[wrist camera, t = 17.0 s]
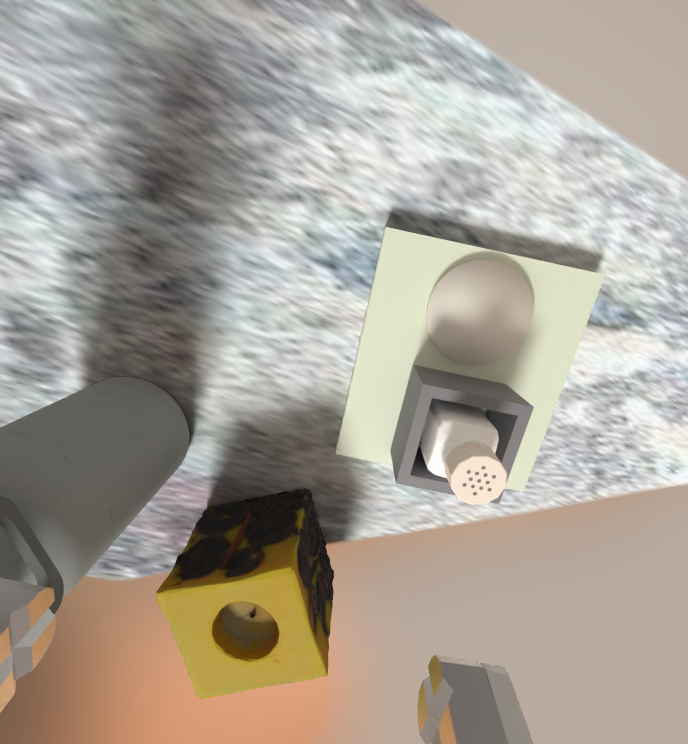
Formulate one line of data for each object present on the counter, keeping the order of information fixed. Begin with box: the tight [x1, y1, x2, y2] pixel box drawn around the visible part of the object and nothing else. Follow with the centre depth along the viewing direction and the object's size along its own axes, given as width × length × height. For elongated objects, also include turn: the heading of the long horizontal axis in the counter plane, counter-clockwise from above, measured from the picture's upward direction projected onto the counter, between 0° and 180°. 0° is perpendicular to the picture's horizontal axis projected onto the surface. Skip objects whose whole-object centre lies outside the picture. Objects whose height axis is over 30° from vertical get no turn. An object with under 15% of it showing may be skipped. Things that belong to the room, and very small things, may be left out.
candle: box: [157, 489, 334, 699], centre depth 32 cm, size 10×10×10 cm
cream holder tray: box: [336, 227, 605, 504], centre depth 29 cm, size 18×16×6 cm
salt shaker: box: [419, 398, 507, 505], centre depth 27 cm, size 4×4×10 cm
